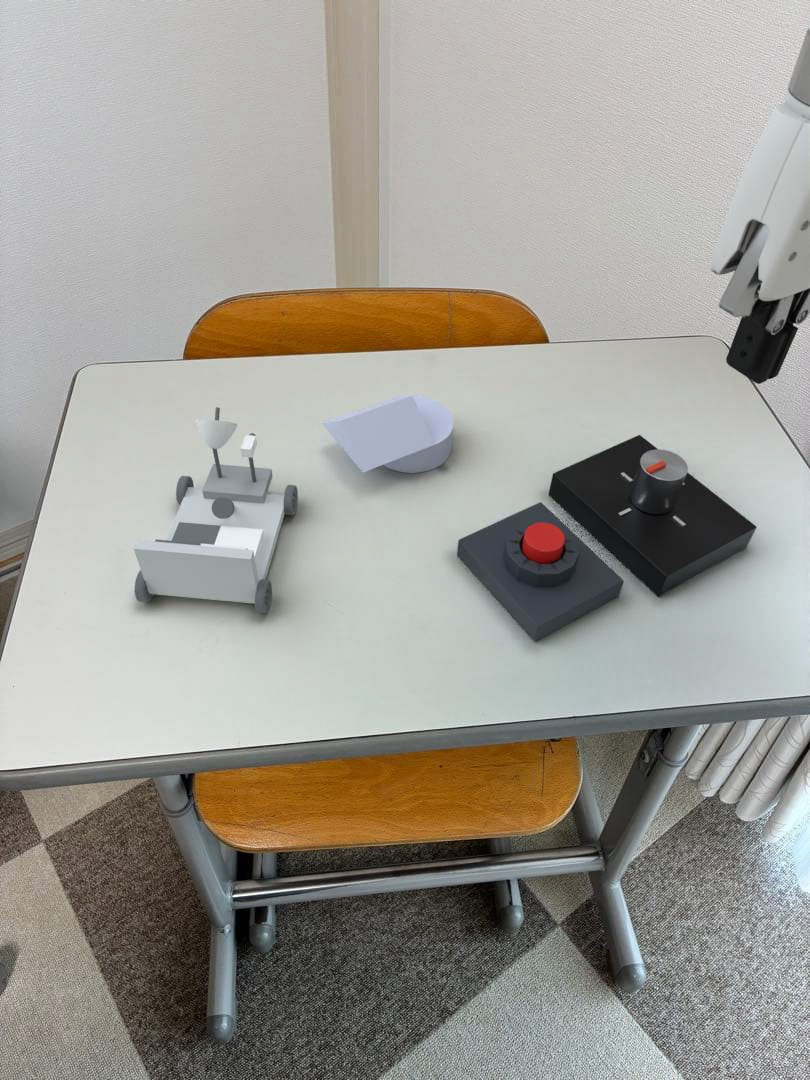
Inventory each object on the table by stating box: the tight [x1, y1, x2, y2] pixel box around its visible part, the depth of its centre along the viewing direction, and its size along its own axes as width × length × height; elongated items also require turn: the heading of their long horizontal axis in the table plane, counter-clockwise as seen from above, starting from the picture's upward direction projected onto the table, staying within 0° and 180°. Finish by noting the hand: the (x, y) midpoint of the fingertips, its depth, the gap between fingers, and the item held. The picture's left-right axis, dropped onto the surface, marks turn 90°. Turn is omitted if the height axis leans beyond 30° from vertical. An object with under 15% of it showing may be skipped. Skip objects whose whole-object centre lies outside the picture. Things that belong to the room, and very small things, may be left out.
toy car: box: [133, 407, 299, 614], centre depth 74 cm, size 18×10×12 cm
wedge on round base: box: [321, 394, 455, 474], centre depth 84 cm, size 9×7×13 cm
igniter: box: [456, 501, 625, 642], centre depth 74 cm, size 12×10×4 cm
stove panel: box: [548, 434, 758, 598], centre depth 79 cm, size 16×12×3 cm
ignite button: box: [522, 523, 565, 564], centre depth 72 cm, size 4×4×2 cm
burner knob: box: [630, 448, 689, 514], centre depth 76 cm, size 4×4×5 cm
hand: (750, 370), depth 55 cm, fingers closed
